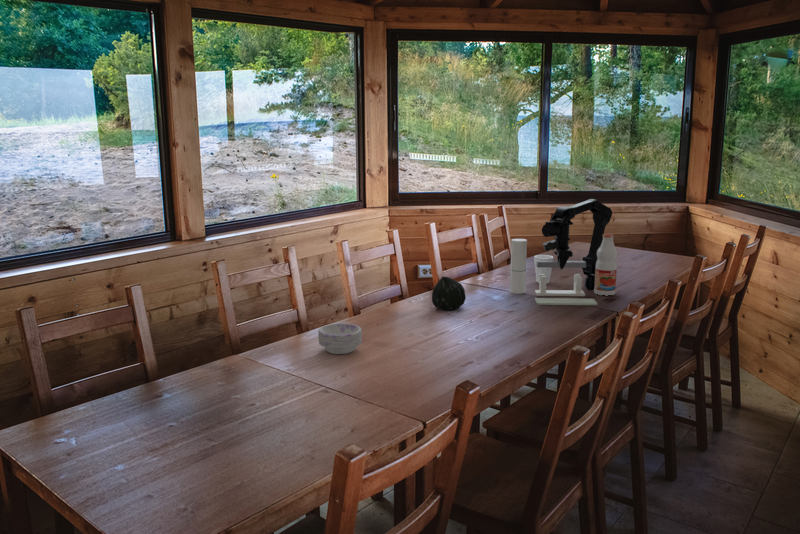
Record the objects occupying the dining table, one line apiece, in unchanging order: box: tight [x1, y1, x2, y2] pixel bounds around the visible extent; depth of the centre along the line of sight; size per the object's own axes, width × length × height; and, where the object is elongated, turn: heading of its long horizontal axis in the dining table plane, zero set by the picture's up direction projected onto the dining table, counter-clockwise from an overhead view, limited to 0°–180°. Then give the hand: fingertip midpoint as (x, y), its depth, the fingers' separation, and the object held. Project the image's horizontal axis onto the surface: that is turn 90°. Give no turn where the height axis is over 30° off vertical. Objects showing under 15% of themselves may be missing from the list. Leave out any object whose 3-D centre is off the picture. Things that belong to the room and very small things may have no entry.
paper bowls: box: [317, 322, 363, 355], centre depth 222 cm, size 15×15×8 cm
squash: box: [431, 276, 467, 311], centre depth 272 cm, size 14×15×15 cm
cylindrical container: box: [509, 238, 528, 295], centre depth 295 cm, size 7×7×25 cm
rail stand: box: [534, 273, 586, 297], centre depth 292 cm, size 22×6×9 cm, turn 87°
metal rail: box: [536, 260, 586, 269], centre depth 290 cm, size 22×3×2 cm, turn 87°
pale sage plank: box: [534, 297, 599, 306], centre depth 279 cm, size 26×8×1 cm, turn 87°
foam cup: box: [533, 254, 554, 284], centre depth 315 cm, size 10×9×13 cm
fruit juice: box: [593, 233, 618, 297], centre depth 291 cm, size 9×9×28 cm
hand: (560, 268), depth 290 cm, fingers closed on metal rail, 3 cm apart
